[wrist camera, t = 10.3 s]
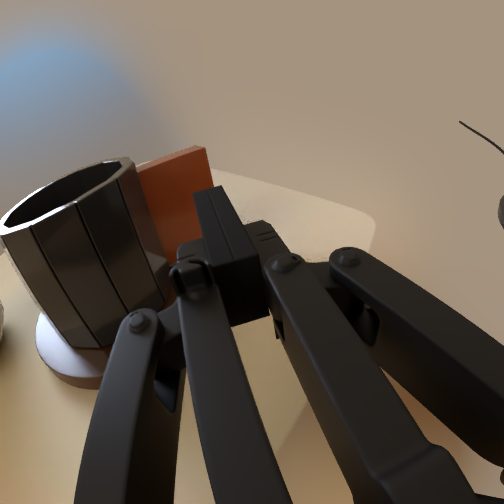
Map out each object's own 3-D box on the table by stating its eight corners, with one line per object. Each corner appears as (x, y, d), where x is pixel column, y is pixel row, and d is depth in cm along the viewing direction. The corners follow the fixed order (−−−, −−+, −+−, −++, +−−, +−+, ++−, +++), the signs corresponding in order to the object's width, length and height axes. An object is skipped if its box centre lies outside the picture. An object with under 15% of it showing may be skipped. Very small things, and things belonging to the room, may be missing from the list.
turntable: (158, 237, 32) (154, 225, 31) (250, 306, 21) (247, 291, 20) (37, 307, 25) (30, 296, 24) (64, 427, 14) (50, 416, 13)
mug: (91, 255, 28) (57, 173, 23) (227, 233, 27) (205, 131, 22) (37, 345, 18) (-28, 246, 13) (216, 344, 17) (162, 192, 11)
